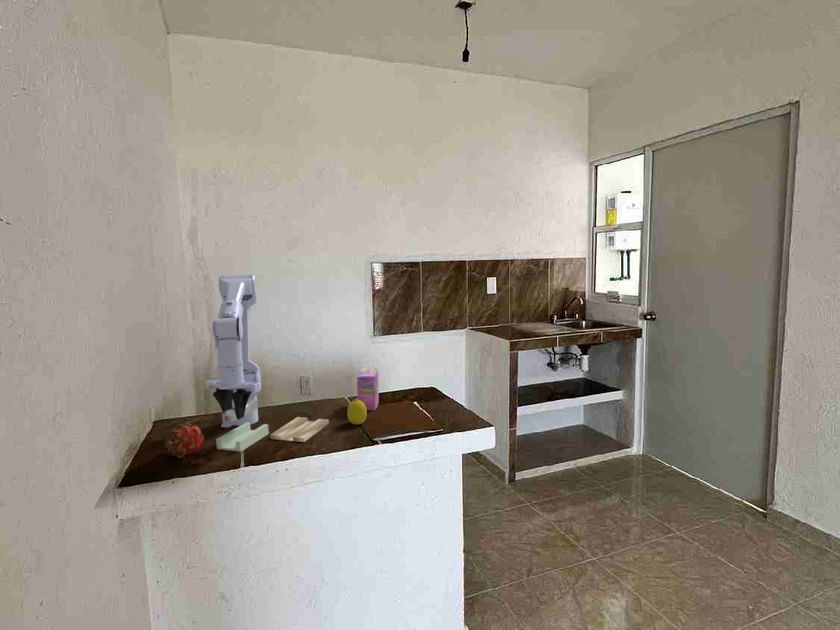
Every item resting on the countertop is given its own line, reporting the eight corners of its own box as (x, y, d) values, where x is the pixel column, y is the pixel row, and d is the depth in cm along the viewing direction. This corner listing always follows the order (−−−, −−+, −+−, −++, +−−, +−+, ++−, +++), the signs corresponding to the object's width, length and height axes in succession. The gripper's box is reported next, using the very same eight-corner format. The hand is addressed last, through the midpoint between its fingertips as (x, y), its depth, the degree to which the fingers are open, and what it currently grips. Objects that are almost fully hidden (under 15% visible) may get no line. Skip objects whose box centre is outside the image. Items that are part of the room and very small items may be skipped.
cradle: (217, 452, 119) (216, 439, 118) (246, 434, 130) (245, 422, 130) (241, 455, 117) (240, 441, 116) (268, 436, 128) (268, 424, 128)
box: (376, 413, 146) (374, 375, 144) (357, 413, 146) (356, 376, 145) (379, 402, 156) (378, 367, 155) (362, 402, 156) (360, 368, 155)
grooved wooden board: (270, 442, 125) (270, 434, 125) (298, 423, 138) (297, 416, 138) (304, 445, 122) (304, 438, 122) (329, 426, 135) (328, 419, 135)
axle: (234, 422, 117) (233, 410, 117) (224, 421, 118) (223, 410, 118) (258, 409, 127) (257, 399, 127) (249, 409, 128) (248, 398, 127)
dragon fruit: (173, 473, 111) (190, 458, 123) (203, 449, 113) (217, 437, 124) (149, 445, 111) (169, 433, 123) (179, 422, 112) (196, 412, 124)
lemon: (363, 430, 132) (362, 402, 131) (345, 429, 133) (343, 401, 132) (369, 423, 137) (368, 396, 136) (351, 422, 138) (350, 395, 137)
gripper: (194, 367, 116) (199, 420, 118) (245, 370, 112) (249, 425, 114) (214, 361, 123) (218, 411, 125) (263, 363, 119) (266, 415, 121)
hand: (234, 417), depth 120 cm, fingers closed on axle, 3 cm apart
